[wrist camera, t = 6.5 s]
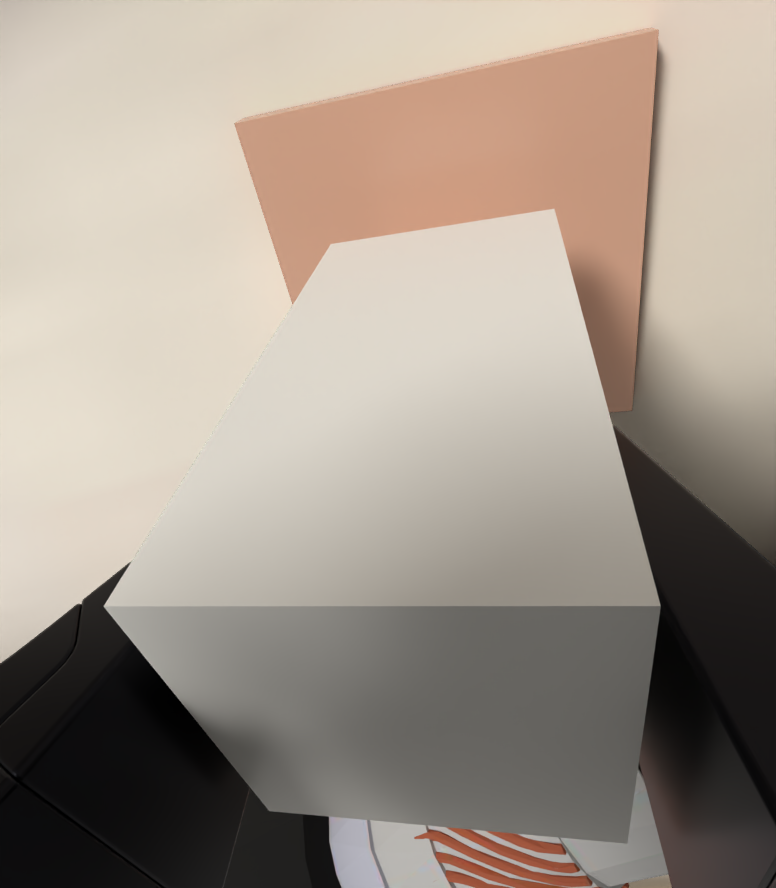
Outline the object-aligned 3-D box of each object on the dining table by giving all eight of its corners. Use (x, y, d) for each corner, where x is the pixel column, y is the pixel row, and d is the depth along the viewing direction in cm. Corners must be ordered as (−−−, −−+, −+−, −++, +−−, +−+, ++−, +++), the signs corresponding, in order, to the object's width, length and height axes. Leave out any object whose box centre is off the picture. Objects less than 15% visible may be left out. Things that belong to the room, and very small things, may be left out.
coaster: (651, 27, 10) (658, 29, 10) (628, 397, 15) (632, 410, 14) (244, 117, 12) (234, 122, 12) (338, 421, 17) (334, 433, 16)
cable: (932, 481, 21) (1235, 802, 15) (301, 760, 35) (334, 976, 29) (956, 372, 13) (1564, 917, 8) (147, 780, 28) (152, 1072, 22)
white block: (553, 209, 10) (660, 605, 3) (559, 402, 12) (627, 843, 6) (330, 244, 11) (103, 606, 4) (376, 418, 13) (269, 810, 7)
